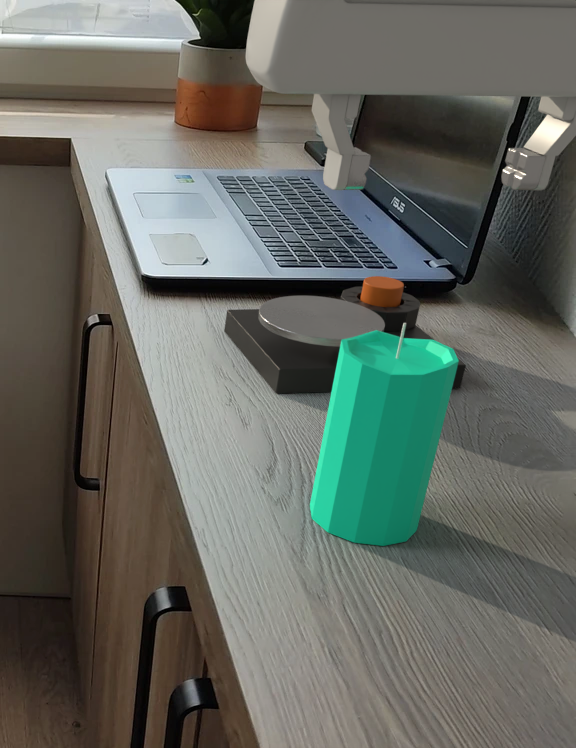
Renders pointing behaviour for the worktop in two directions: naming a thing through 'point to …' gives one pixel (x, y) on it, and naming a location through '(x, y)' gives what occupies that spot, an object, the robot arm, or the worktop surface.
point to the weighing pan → (318, 319)
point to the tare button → (382, 291)
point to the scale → (313, 346)
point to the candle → (381, 436)
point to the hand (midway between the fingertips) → (433, 187)
